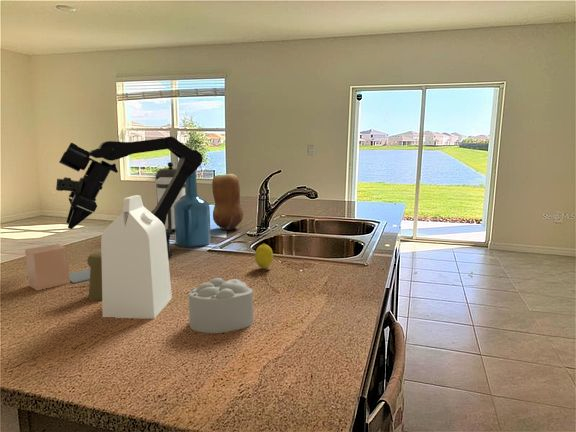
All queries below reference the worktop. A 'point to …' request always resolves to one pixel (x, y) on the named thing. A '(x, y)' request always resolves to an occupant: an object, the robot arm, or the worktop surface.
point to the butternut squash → (227, 201)
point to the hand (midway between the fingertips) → (68, 225)
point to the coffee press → (162, 183)
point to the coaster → (80, 276)
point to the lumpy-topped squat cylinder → (221, 306)
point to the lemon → (263, 256)
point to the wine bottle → (192, 217)
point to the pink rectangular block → (47, 266)
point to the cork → (95, 276)
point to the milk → (135, 264)
